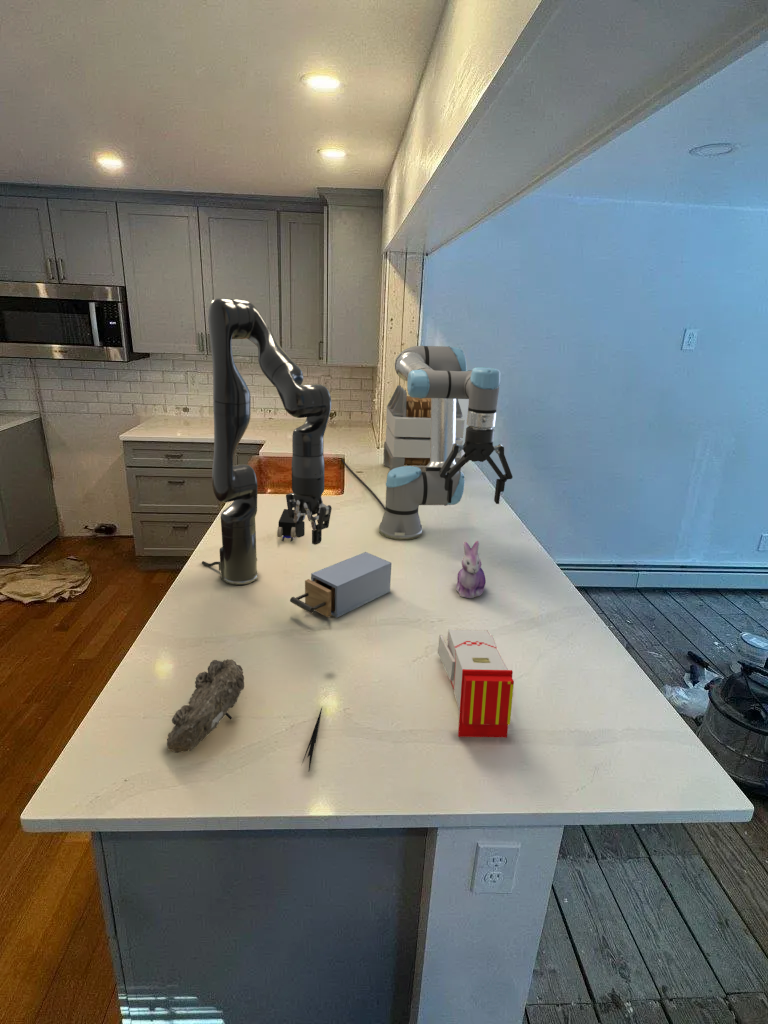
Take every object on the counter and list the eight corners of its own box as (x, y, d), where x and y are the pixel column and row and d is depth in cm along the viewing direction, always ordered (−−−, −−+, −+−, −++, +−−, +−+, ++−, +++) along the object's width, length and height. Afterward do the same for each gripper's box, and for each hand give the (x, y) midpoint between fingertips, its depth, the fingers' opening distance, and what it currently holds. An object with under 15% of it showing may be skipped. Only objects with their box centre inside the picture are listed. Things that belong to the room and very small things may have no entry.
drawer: (311, 625, 139) (311, 599, 136) (288, 612, 144) (288, 587, 142) (379, 592, 156) (380, 568, 154) (357, 581, 162) (357, 559, 159)
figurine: (467, 602, 155) (472, 552, 149) (446, 586, 163) (450, 538, 158) (494, 596, 159) (500, 546, 154) (473, 580, 167) (478, 533, 162)
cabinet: (336, 617, 144) (337, 586, 141) (311, 603, 151) (311, 573, 147) (390, 591, 159) (391, 562, 156) (364, 579, 165) (365, 551, 162)
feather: (331, 679, 122) (336, 673, 122) (307, 777, 96) (313, 769, 95) (324, 675, 122) (329, 669, 121) (298, 772, 95) (304, 764, 95)
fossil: (192, 660, 117) (244, 628, 112) (224, 691, 120) (276, 661, 115) (142, 746, 98) (202, 712, 93) (182, 779, 101) (242, 748, 96)
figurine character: (296, 548, 187) (302, 526, 201) (296, 527, 184) (301, 507, 198) (276, 547, 187) (283, 526, 201) (275, 527, 184) (282, 507, 197)
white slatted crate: (382, 463, 289) (386, 382, 275) (445, 464, 293) (451, 384, 279) (390, 482, 257) (394, 392, 243) (460, 483, 261) (468, 394, 247)
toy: (488, 613, 130) (523, 677, 101) (484, 667, 133) (517, 744, 104) (435, 612, 130) (455, 676, 101) (432, 666, 133) (451, 743, 103)
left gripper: (275, 468, 133) (277, 535, 138) (316, 482, 124) (316, 553, 130) (300, 463, 138) (300, 528, 144) (341, 476, 129) (340, 544, 135)
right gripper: (436, 428, 148) (430, 505, 155) (530, 431, 149) (520, 507, 157) (432, 423, 155) (427, 496, 162) (521, 425, 156) (512, 498, 164)
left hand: (308, 539), depth 137 cm, fingers open, 5 cm apart
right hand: (472, 502), depth 159 cm, fingers open, 13 cm apart
